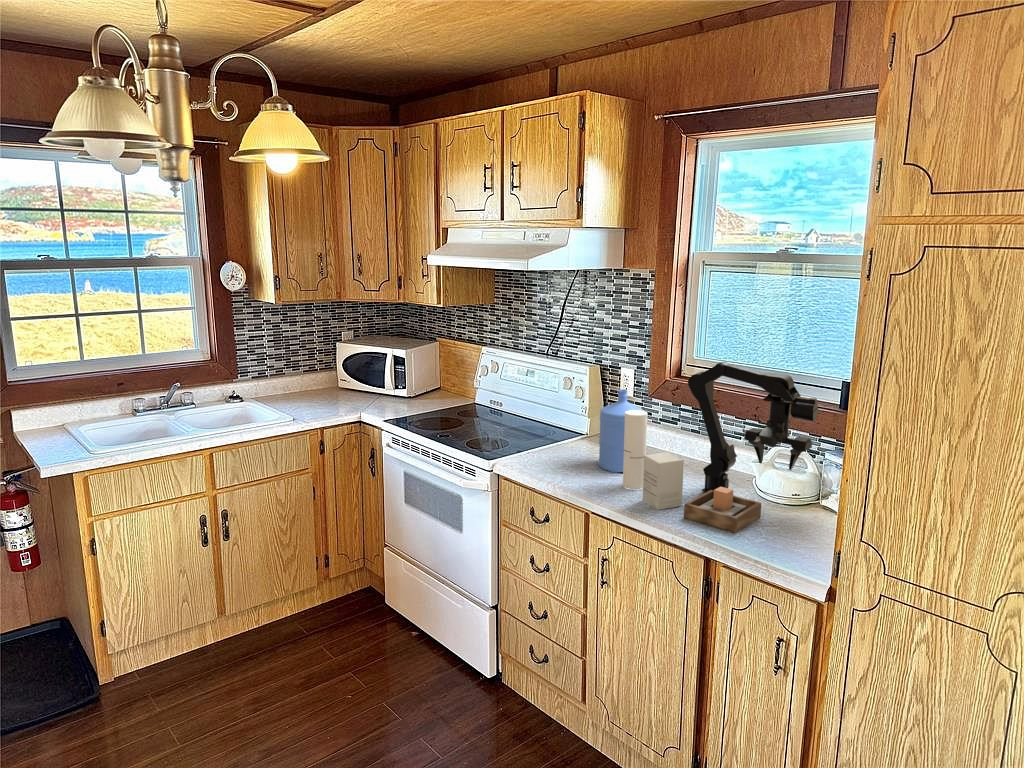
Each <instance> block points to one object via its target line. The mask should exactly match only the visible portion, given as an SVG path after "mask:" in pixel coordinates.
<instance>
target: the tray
mask: <svg viewBox="0 0 1024 768" xmlns="http://www.w3.org/2000/svg"><path fill="white" fill-rule="evenodd" d="M713 500H714V490H710V491H708V492H704V493H703V494H700V495H699V496H697V497H694V498H692V499H690V500H689V501H687V502H685V503H683V519H685V520H688V521H691V522H695V523H697V524H701V525H704V526H708V527H712V528H715V529H718V530H721V531H725V532H728V533H732V534H735V535H736V534H737V533H739V532H740V531H742V530H743V529H745V528H747V527H748V526H750V525H751V524H753V523H754V522H756V521H758V520H759V519H760V518H761V515H762V514H761V513H762V502H759V501H755V500H752V499H747V498H744V497H740V496H737V495H736V496H735V495H733V504H732V509H730V510H729V511H724V510H721V509H717V508H713Z"/></svg>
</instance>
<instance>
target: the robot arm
mask: <svg viewBox="0 0 1024 768" xmlns="http://www.w3.org/2000/svg"><path fill="white" fill-rule="evenodd" d="M721 377H726V378H729V379H732V380H736V381H739V382H743V383H747V384H750V385H754V386H757V387H759V388H761V389H762V390H763V391H764V392H767V393H768V394H767V395H766V397H764V398H762V400H763V402H769V412H768V413H769V414H768V419H767V420H766V424H765V427H764V428H763V429H761V428H754V427H752V428H750V429H747V430H746V431H745V432H744V435H743V440H744V441H747V442H748V444H750V445H752V446H753V448H754V450H755V452H756V453H755V454H756V457H757V460H758V463H759V464H763V461H764V451H765V446H769V447H776V446H777V445H778V443H779V444H785V445H790V446H791V449H790V450H789V453H790V458H789V465H788V468H789V469H788V470H789V471H792V470H793V468H794V466H795V464H796V462H797V460H798V459H799V457H800V455H801V454H802V453H803V452H806V451H809V450H810V449H812V447H813V441H812V439H811V438H810V437H803V436H797V437H795V438H790V436H791V435H790V432H789V429H790V428H789V426H790V424H791V419H790V416H791V418H793V419H794V420H798V421H806V422H812V423H815V422H816V421H817V418H818V414H819V408H818V407H819V406H818V399H817V398H815V397H810V398H809V397H801V394H800V393H799V390H797V388H796V387H795V381H794V380H793V378H792V376H790V375H789V374H785V373H775V372H774V373H773V372H772V373H771V372H770V373H769V372H768V373H767V372H761V371H758V370H754V369H751V368H747V367H743V366H739V365H735V364H732V363H730V362H727V361H721V362H718V363H716V364H715V365H714V366H713V367H711V368H708V369H707V370H705V371H700V372H697V373H695V374H692V375H691V376H689V378H688V380H687V386H688V388H689V390H690V392H691V395H692V396H693V398H694V399H695V400H696V401H697V403H698V405H699V408H700V411H701V415H702V419H703V422H704V426H705V429H706V432H707V436H708V440H709V443H710V450H709V451H710V452H709V458H710V463H709V464H708V465H706V466H705V467H704V468H703V474H704V475H705V477H704V488H702V489H701V492H704V493H706V492H708V491H710V490H715V489H717V488H719V487H724V488H728V489H729V485H730V484H729V482H730V479H729V475H728V474H729V473H727V472H729V470H730V469H731V468H732V467H733V466H734V465H735V464H736V462H737V457H738V455H737V454H736V451H735V445H734V444H729V443H728V442H727V441H726V438H725V435H724V432H723V429H722V425H721V421H720V418H719V414H718V411H717V407H716V404H715V401H714V400H715V399H714V390H715V388H714V387H715V386H714V382H715V381H717V380H718V379H720V378H721Z"/></svg>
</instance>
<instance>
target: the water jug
mask: <svg viewBox="0 0 1024 768" xmlns="http://www.w3.org/2000/svg"><path fill="white" fill-rule="evenodd" d="M617 396H618V397H617V399H618V400H617V401H616V402H613V403H611V404H608V405H606V406H603V407H602V408H601V409H600V414H599V439H598V441H599V443H598V444H599V453H598V454H599V456H598V466H599V467H600V468H601V469H602V468H603V469H602V470H604V469H605V470H604V471H607V470H608V471H607V472H610V471H613V472H612V473H616V472H623V462H624V430H625V412H626V411H629V410H641V411H644V409H643V408H641V407H639V406H637V405H635V404H633V403H631V402H629V401H628V390H627V389H618V394H617Z"/></svg>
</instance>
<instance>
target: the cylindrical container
mask: <svg viewBox="0 0 1024 768" xmlns="http://www.w3.org/2000/svg"><path fill="white" fill-rule="evenodd" d="M647 431H648V411H645V410H643V411H641V410H629V411H626V412H625V430H624V462H623V473H622V487H623V486H624V487H626V488H630V489H640V488H643V471H644V455H647V434H648V432H647ZM624 487H623V488H624ZM626 488H625V489H626ZM630 489H629V490H630Z"/></svg>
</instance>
